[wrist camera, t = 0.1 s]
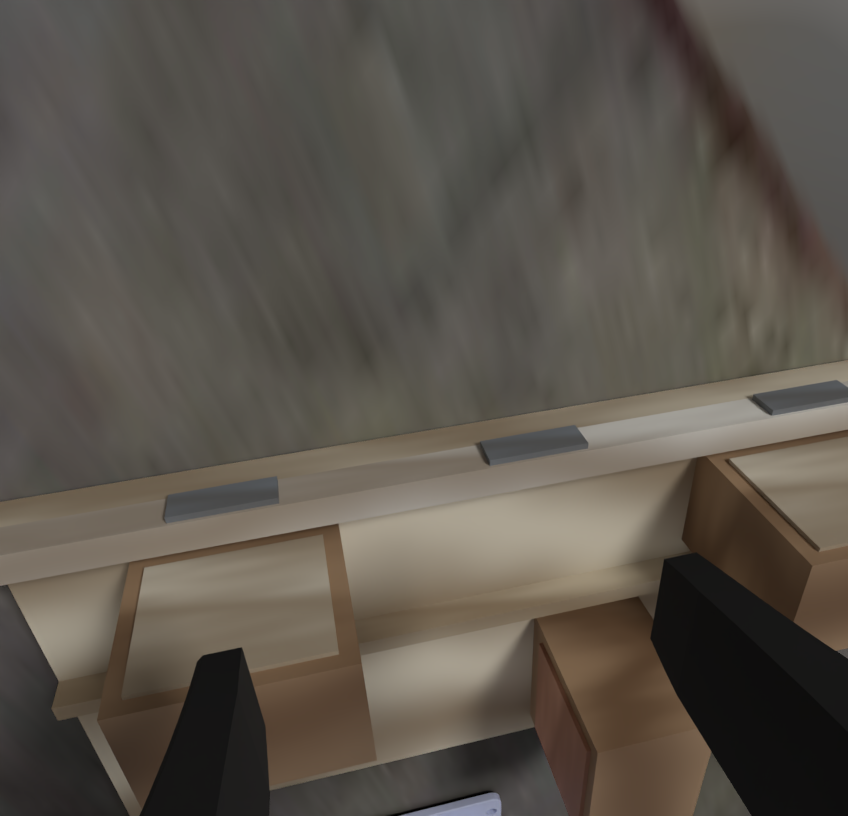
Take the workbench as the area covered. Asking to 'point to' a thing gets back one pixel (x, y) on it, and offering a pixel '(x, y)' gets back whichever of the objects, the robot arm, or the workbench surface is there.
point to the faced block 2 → (779, 527)
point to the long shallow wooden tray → (418, 543)
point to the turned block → (613, 715)
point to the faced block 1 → (262, 645)
